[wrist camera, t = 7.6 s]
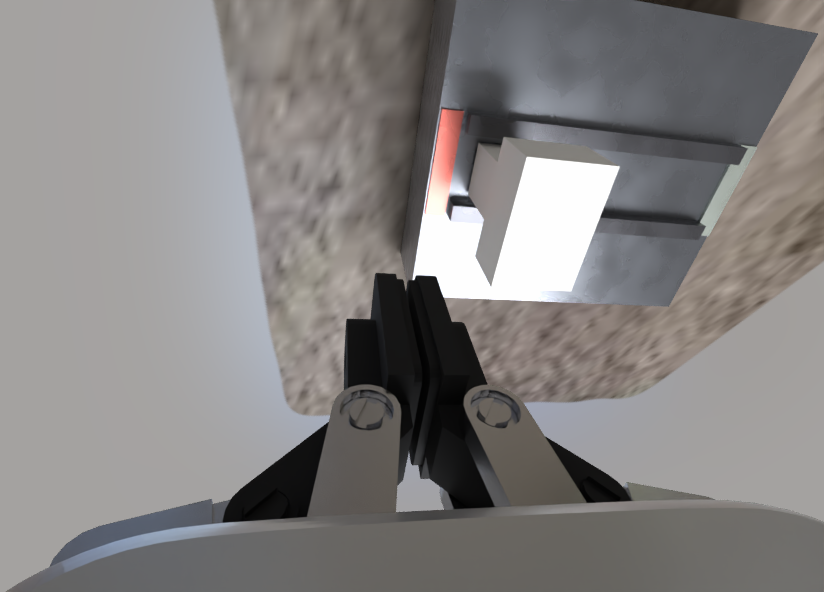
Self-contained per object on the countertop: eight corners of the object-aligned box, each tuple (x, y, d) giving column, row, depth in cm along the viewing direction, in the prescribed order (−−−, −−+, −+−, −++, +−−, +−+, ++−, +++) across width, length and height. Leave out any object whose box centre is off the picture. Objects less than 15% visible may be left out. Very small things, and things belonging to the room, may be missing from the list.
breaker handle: (475, 113, 24) (527, 156, 17) (545, 121, 24) (619, 166, 18) (454, 216, 27) (491, 287, 20) (516, 221, 28) (570, 291, 21)
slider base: (438, -26, 25) (466, -33, 19) (736, 27, 29) (835, 34, 23) (400, 253, 35) (412, 304, 29) (626, 267, 38) (676, 314, 33)
